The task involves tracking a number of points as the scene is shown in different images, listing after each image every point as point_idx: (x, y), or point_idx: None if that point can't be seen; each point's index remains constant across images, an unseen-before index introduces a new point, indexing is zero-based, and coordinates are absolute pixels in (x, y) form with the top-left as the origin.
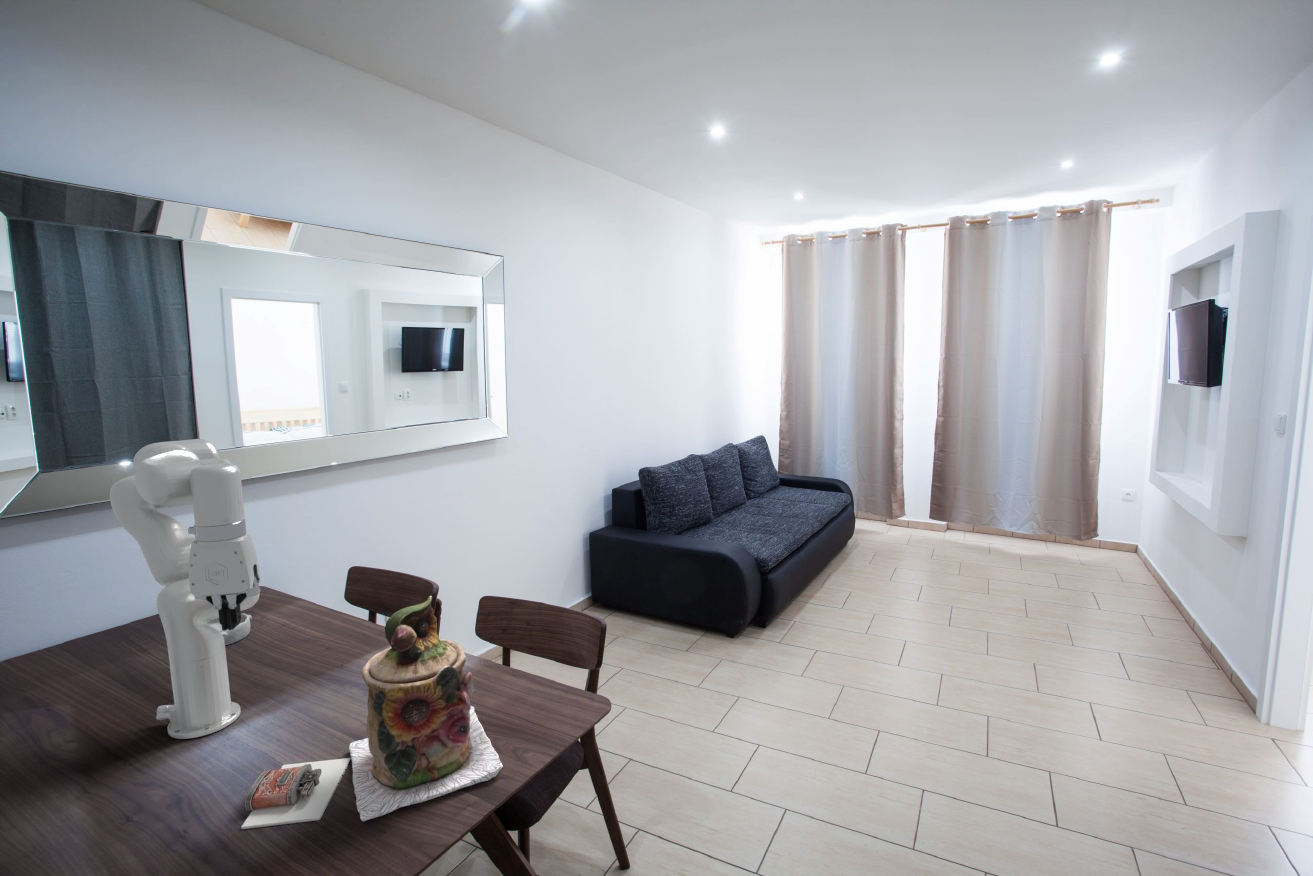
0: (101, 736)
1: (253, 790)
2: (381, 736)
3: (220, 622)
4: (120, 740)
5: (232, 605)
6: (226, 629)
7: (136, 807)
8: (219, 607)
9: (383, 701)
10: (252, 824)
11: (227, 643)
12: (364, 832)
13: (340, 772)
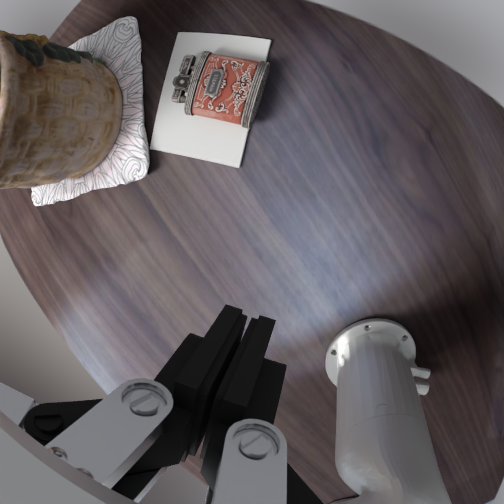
0: (476, 369)
1: (257, 73)
2: (62, 51)
3: (280, 367)
4: (461, 353)
5: (143, 405)
6: (254, 319)
7: (427, 160)
8: (247, 435)
9: (17, 41)
10: (257, 39)
11: (345, 499)
12: (137, 9)
13: (159, 116)
